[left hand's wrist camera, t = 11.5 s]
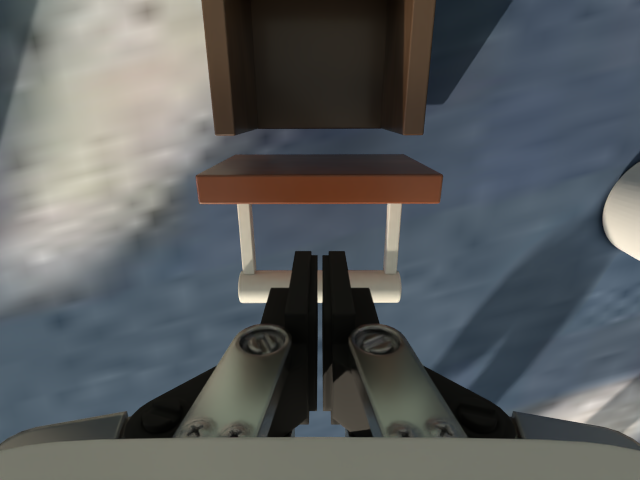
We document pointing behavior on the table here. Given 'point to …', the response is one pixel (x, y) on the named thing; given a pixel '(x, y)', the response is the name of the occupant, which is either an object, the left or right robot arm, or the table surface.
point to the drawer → (319, 114)
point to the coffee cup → (624, 213)
